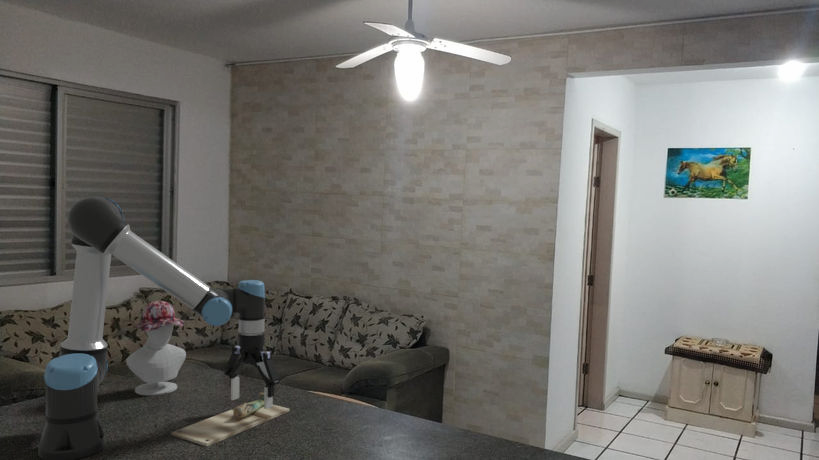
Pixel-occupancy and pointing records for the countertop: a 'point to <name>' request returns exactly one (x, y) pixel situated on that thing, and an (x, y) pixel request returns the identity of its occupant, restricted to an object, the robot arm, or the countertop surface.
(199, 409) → the countertop surface
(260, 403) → the figurine
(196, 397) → the countertop surface
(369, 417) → the countertop surface
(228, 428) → the board
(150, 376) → the bust with hat
